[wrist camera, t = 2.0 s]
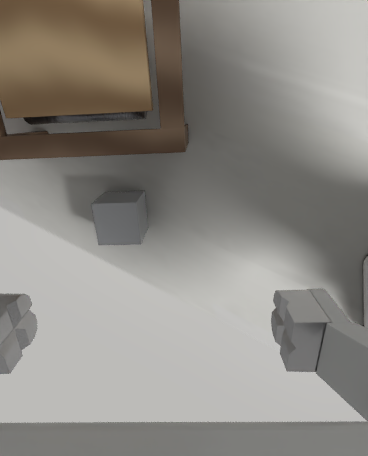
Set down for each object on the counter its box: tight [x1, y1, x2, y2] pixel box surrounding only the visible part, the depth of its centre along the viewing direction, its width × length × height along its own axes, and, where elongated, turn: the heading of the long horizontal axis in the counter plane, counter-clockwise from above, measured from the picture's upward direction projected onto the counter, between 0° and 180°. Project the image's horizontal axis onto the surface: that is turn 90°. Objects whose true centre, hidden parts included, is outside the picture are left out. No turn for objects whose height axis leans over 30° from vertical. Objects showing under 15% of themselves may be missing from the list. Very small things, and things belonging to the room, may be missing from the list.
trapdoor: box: [0, 0, 153, 124], centre depth 23 cm, size 15×13×3 cm
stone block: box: [91, 191, 148, 245], centre depth 34 cm, size 5×5×5 cm
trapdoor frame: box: [0, 0, 188, 160], centre depth 25 cm, size 21×18×8 cm
